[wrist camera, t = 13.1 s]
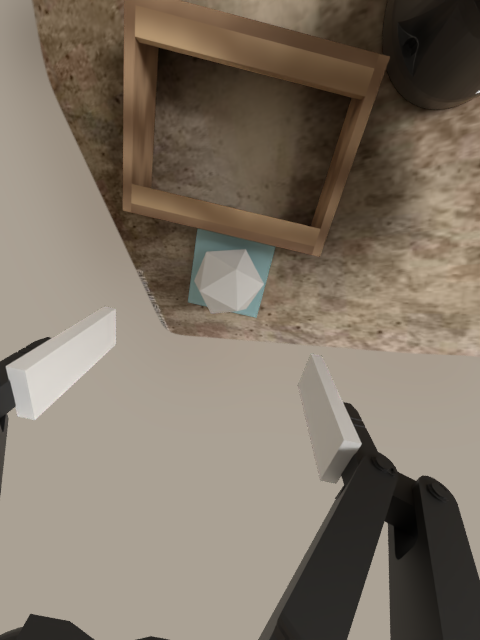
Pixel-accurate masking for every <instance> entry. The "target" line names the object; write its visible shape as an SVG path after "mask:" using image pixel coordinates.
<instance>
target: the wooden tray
mask: <svg viewBox="0 0 480 640" xmlns="http://www.w3.org/2000/svg"><path fill="white" fill-rule="evenodd" d="M159 48H163V49H167V50H171V51H174V52H178V53H182V54H186V55H190V56H194V57H197V58H201V59H205V60H209V61H213V62H217V63H221V64H224V65H228V66H232V67H236V68H240V69H244V70H247V71H251V72H255V73H259V74H263V75H267V76H271V77H274V78H278V79H282V80H286V81H290V82H294V83H297V84H301V85H305V86H309V87H313V88H317V89H321V90H324V91H328V92H332V93H336V94H340V95H344V96H347V97H351V101H350V104H349V107H348V110H347V114H346V117H345V120H344V123H343V126H342V129H341V132H340V136H339V139H338V142H337V145H336V148H335V151H334V154H333V158H332V161H331V164H330V167H329V170H328V173H327V176H326V179H325V183H324V186H323V189H322V192H321V195H320V198H319V201H318V205H317V208H316V211H315V214H314V217H313V220H312V223H311V227H310V226H306V225H302V224H298V223H294V222H289V221H285V220H281V219H277V218H273V217H269V216H264V215H260V214H256V213H252V212H248V211H243V210H239V209H235V208H231V207H227V206H223V205H218V204H214V203H210V202H206V201H202V200H197V199H193V198H189V197H185V196H181V195H177V194H172V193H168V192H164V191H160V190H156V189H151V185H152V165H153V146H154V127H155V108H156V89H157V69H158V50H159ZM389 59H390V56H386V55H382V54H379V53H375V52H371V51H367V50H364V49H360V48H356V47H352V46H349V45H345V44H341V43H337V42H334V41H330V40H326V39H322V38H319V37H315V36H311V35H308V34H304V33H300V32H296V31H293V30H289V29H285V28H281V27H278V26H274V25H270V24H266V23H263V22H259V21H255V20H251V19H248V18H244V17H240V16H237V15H233V14H229V13H225V12H222V11H218V10H214V9H210V8H207V7H203V6H199V5H195V4H192V3H188V2H184V1H180V0H124V102H123V211H127V212H131V213H136V214H140V215H144V216H148V217H153V218H157V219H161V220H165V221H170V222H174V223H178V224H182V225H187V226H191V227H195V228H199V229H204V230H208V231H212V232H216V233H221V234H225V235H229V236H233V237H238V238H242V239H246V240H250V241H255V242H259V243H263V244H268V245H272V246H276V247H280V248H285V249H289V250H293V251H297V252H302V253H306V254H310V255H314V256H319V257H320V255H321V252H322V249H323V246H324V243H325V241H326V238H327V235H328V232H329V229H330V226H331V224H332V221H333V218H334V215H335V212H336V209H337V207H338V204H339V201H340V198H341V195H342V192H343V189H344V187H345V184H346V181H347V178H348V175H349V172H350V170H351V167H352V164H353V161H354V158H355V155H356V152H357V150H358V147H359V144H360V141H361V138H362V135H363V133H364V130H365V127H366V124H367V121H368V118H369V116H370V113H371V110H372V107H373V104H374V101H375V98H376V96H377V93H378V90H379V87H380V84H381V81H382V79H383V76H384V73H385V70H386V67H387V64H388V62H389Z"/></svg>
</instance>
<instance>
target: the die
mask: <svg viewBox="0 0 480 640" xmlns="http://www.w3.org/2000/svg"><path fill="white" fill-rule="evenodd" d="M194 282H195V284H196V286H197V287H198V289H199V291H200V293H201V295H202V297H203V299H204V301H205V303H206V305H207V307H208V309H209V311H210V313H211V314H212V313H223V312H233V311H240V310H244V309H247V307H248V306H249V304H250V303H251V302H252V300H253V299H254V297H255V296H256V295H257V293H258V292H259V290H260V289H261V288H262V286H263V285H264V283H263V281H262V279H261V278H260V276H259V274H258V272H257V270H256V268H255V266H254V264H253V262H252V260H251V258H250V257H249V255H248V253H247V251H246V249H241V250H225V251H209V252H206V254H205V256H204V258H203V261H202V263H201V266H200V268H199V270H198V273H197V275H196V277H195V280H194Z"/></svg>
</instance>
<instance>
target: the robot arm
mask: <svg viewBox="0 0 480 640" xmlns="http://www.w3.org/2000/svg"><path fill="white" fill-rule="evenodd" d="M383 55H386V56H390V59H389V62H388V64H387V67H386V69H387V72H388V75H389V77H390V79H391V81H392V83H393V85H394V86H395V88H396V89H397V91H398V92H399V93H400V94H401V95H402V96H403V97H404V98H405V99H406V100H408V101H409V102H411V103H412V104H414V105H417V106H419V107H422V108H427V109H446V108H451V107H455V106H458V105H461V104H463V103H466V102H468V101H470V100H472V99H474V98H476V97H477V96H479V95H480V0H388V2H387V7H386V11H385V16H384V24H383ZM115 345H116V309H115V308H111V307H106V306H104V307H102V308H100V309H99V310H97V311H95V312H94V313H92V314H90V315H89V316H87V317H86V318H84V319H82V320H81V321H79V322H77V323H76V324H74V325H72V326H71V327H69V328H68V329H66V330H64V331H63V332H61V333H59V334H58V335H56V336H54V337H53V338H49V337H46V338H44V339H40V340H38V341H35V342H33V343H31V344H30V345H28V346H26V348H23V349H21V350H19V351H18V352H16V353H14V354H12V355H11V356H9V357H7V358H5V359H4V360H2V361H0V493H1V483H2V474H3V465H4V455H5V446H6V437H7V427H8V415H7V413H8V412H9V411H10V410H12V409H13V408H14V407H15V408H16V412H17V416H18V417H23V418H28V419H33V420H35V419H37V418H38V417H39V416H40V415H41V414H42V413H43V412H44V411H45V410H46V409H47V408H48V407H49V406H51V405H52V404H53V403H54V402H55V401H56V400H57V399H58V398H59V397H60V396H61V395H62V394H63V393H64V392H66V391H67V390H68V389H69V388H70V387H71V386H72V385H73V384H74V383H75V382H76V381H77V380H78V379H79V378H80V377H82V376H83V375H84V374H85V373H86V372H87V371H88V370H89V369H90V368H91V367H92V366H93V365H94V364H95V363H96V362H98V361H99V360H100V359H101V358H102V357H103V356H104V355H105V354H106V353H107V352H108V351H109V350H110V349H111V348H113V347H114V346H115ZM298 388H299V393H300V397H301V401H302V405H303V409H304V413H305V418H306V422H307V427H308V431H309V435H310V439H311V444H312V448H313V452H314V456H315V460H316V465H317V469H318V473H319V478H320V480H321V481H326V482H331V483H337V482H338V480H339V478H340V477H341V476H342V479H343V482H344V486H343V487H342V489H341V490H340V492H339V493H338V495H337V497H336V498H335V499H336V500H335V502H334V503H333V505H332V507H331V509H330V511H329V513H328V514H327V516H326V518H325V520H324V522H323V523H322V525H321V527H320V529H319V531H318V532H317V534H316V536H315V538H314V540H313V541H312V543H311V545H310V547H309V549H308V551H307V552H306V554H305V556H304V558H303V560H302V561H301V563H300V565H299V567H298V569H297V570H296V572H295V575H294V576H293V578H292V580H291V581H290V583H289V585H288V587H287V589H286V591H285V592H284V594H283V596H282V598H281V599H280V601H279V603H278V605H277V607H276V608H275V610H274V612H273V614H272V616H271V618H270V619H269V621H268V623H267V625H266V627H265V628H264V630H263V632H262V634H261V636H260V638H259V639H258V640H347V637H348V634H349V631H350V628H351V625H352V622H353V618H354V615H355V612H356V609H357V606H358V603H359V600H360V597H361V593H362V590H363V587H364V584H365V580H366V577H367V574H368V571H369V568H370V565H371V562H372V558H373V556H374V552H375V549H376V546H377V543H378V540H379V537H380V533H381V530H382V527H383V524H384V521H385V522H387V523H388V542H389V543H388V545H389V590H390V634H391V640H480V580H479V576H478V573H477V569H476V566H475V563H474V559H473V556H472V552H471V549H470V545H469V542H468V538H467V535H466V531H465V528H464V525H463V521H462V518H461V514H460V511H459V507H458V504H457V502H456V500H455V498H454V496H453V495H452V494H451V493H450V491H449V490H448V489H447V488H446V487H445V486H444V485H442V484H441V483H440V482H438V481H437V480H435V479H433V478H431V477H429V476H421V477H420V478H419V479H418V480H417V481H415V480H413V479H411V478H409V477H407V476H405V475H403V474H401V473H399V472H397V470H396V467H395V466H394V465H393V463H392V462H391V461H390V460H389V459H388V458H387V457H386V456H384V455H382V454H381V453H379V452H378V451H377V449H376V447H375V445H374V443H373V441H372V439H371V437H370V435H369V433H368V431H367V429H366V428H365V425H364V423H363V422H362V419H361V417H360V416H359V413H358V412H357V410H356V409H355V408H354V407H353V406H352V405H351V404H349V403H344V402H343V401H342V399H341V397H340V395H339V392H338V390H337V388H336V386H335V384H334V382H333V379H332V377H331V375H330V372H329V370H328V368H327V366H326V364H325V361H324V359H323V358H322V356H321V355H316V354H312V353H311V354H310V357H309V359H308V362H307V364H306V367H305V369H304V371H303V374H302V376H301V379H300V381H299V383H298ZM0 640H94V639H93V638H91V637H90V636H89V635H87V634H86V633H85V632H83V631H82V630H81V629H79V628H78V627H77V626H75V625H74V624H73V623H71V622H70V621H66V620H60V619H55V618H49V617H44V616H38V615H33V614H30V616H29V617H28V619H27V621H26V623H25V624H24V626H23V627H20V628H17V629H14V630H11V631H8V632H6V633H4V634H2V635H0ZM137 640H168V639H163V638H157V637H152V636H151V637H146V638H142V639H137Z"/></svg>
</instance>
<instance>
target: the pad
mask: <svg viewBox="0 0 480 640" xmlns="http://www.w3.org/2000/svg"><path fill="white" fill-rule="evenodd" d="M241 249H246V251H247V253H248V255H249V257H250V258H251V260H252V262H253V264H254V266H255V268H256V270H257V272H258V274H259V276H260V278H261V279H262V281H263V283H264V285H263V286H262V288H261V289H260V290H259V292H258V293H257V295H256V296H255V297H254V299H253V300H252V302H251V303H250V304H249V306H248V307H247V309H244V310H240V311H233V313H238V314H242V315H247V316H251V317H256V318H257V314H258V310H259V307H260V303H261V299H262V295H263V292H264V288H265V284H266V281H267V277H268V273H269V269H270V266H271V262H272V258H273V255H274V251H275V246H272V245H268V244H263V243H259V242H255V241H250V240H246V239H242V238H238V237H233V236H229V235H225V234H221V233H216V232H212V231H208V230H204V229H199V228H198V229H197V236H196V244H195V251H194V259H193V266H192V274H191V282H190V289H189V297H188V302H189V303H193V304H198V305H202V306H207V305H206V303H205V301H204V299H203V297H202V295H201V293H200V291H199V289H198V287H197V286H196V284H195V282H194V280H195V277H196V275H197V273H198V270H199V268H200V266H201V263H202V261H203V258H204V256H205V254H206V252H209V251H225V250H241Z"/></svg>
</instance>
